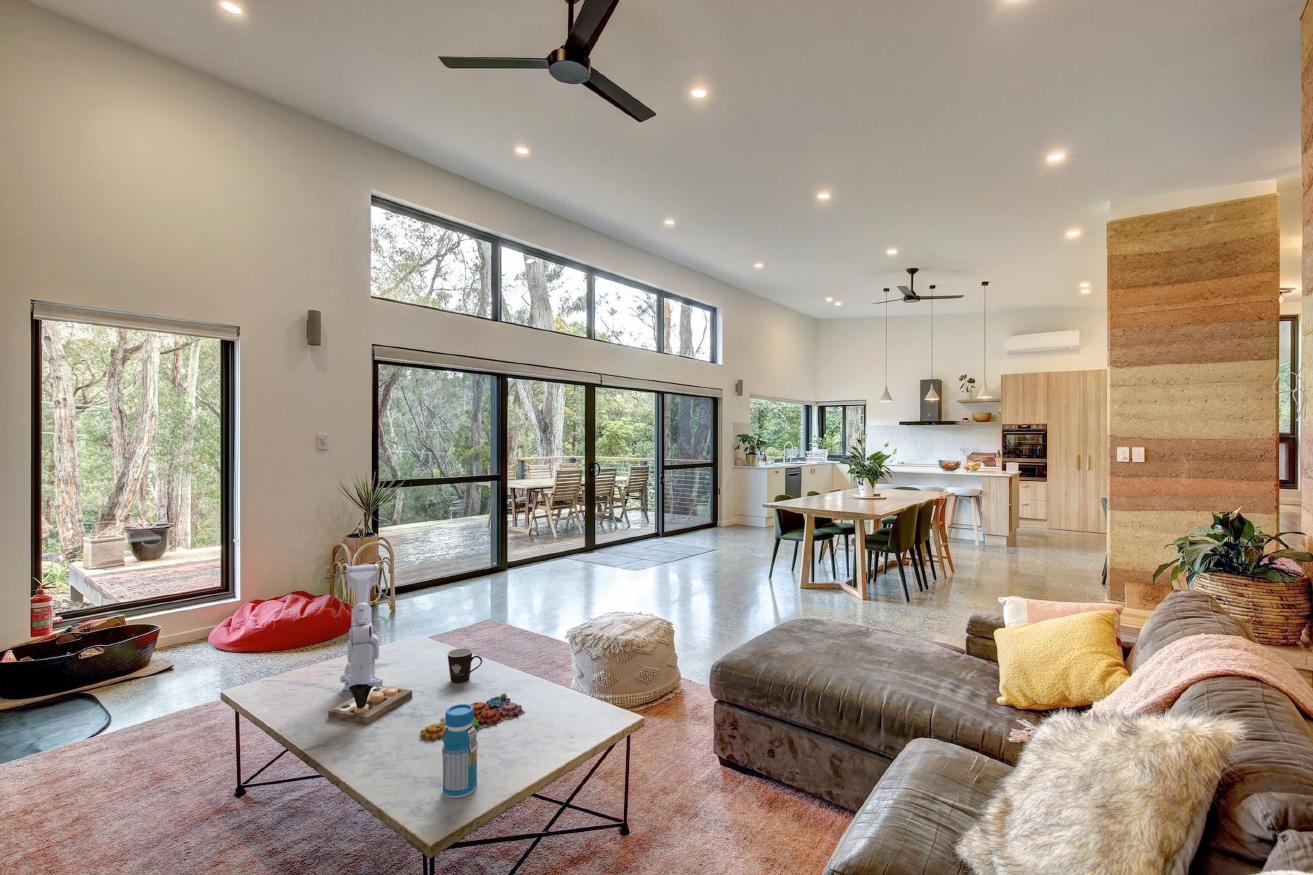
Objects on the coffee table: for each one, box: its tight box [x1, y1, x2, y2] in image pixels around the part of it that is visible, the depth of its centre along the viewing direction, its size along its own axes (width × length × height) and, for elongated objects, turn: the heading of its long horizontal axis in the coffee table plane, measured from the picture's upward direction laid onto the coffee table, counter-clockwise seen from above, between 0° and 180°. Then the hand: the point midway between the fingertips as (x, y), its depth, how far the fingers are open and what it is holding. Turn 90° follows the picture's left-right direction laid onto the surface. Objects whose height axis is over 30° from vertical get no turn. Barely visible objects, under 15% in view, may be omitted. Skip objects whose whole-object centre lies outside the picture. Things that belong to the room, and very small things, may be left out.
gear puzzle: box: [419, 692, 526, 740], centre depth 185 cm, size 31×16×4 cm, turn 133°
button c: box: [385, 687, 398, 697], centre depth 199 cm, size 4×4×2 cm
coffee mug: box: [446, 647, 483, 685], centre depth 215 cm, size 12×9×10 cm
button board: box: [327, 685, 413, 726], centre depth 194 cm, size 15×20×3 cm
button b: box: [370, 692, 384, 704], centre depth 193 cm, size 4×4×2 cm
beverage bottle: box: [441, 703, 479, 799], centre depth 149 cm, size 8×8×20 cm
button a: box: [354, 704, 369, 714], centre depth 187 cm, size 4×4×2 cm
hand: (361, 707), depth 187 cm, fingers closed, pressing on button a
